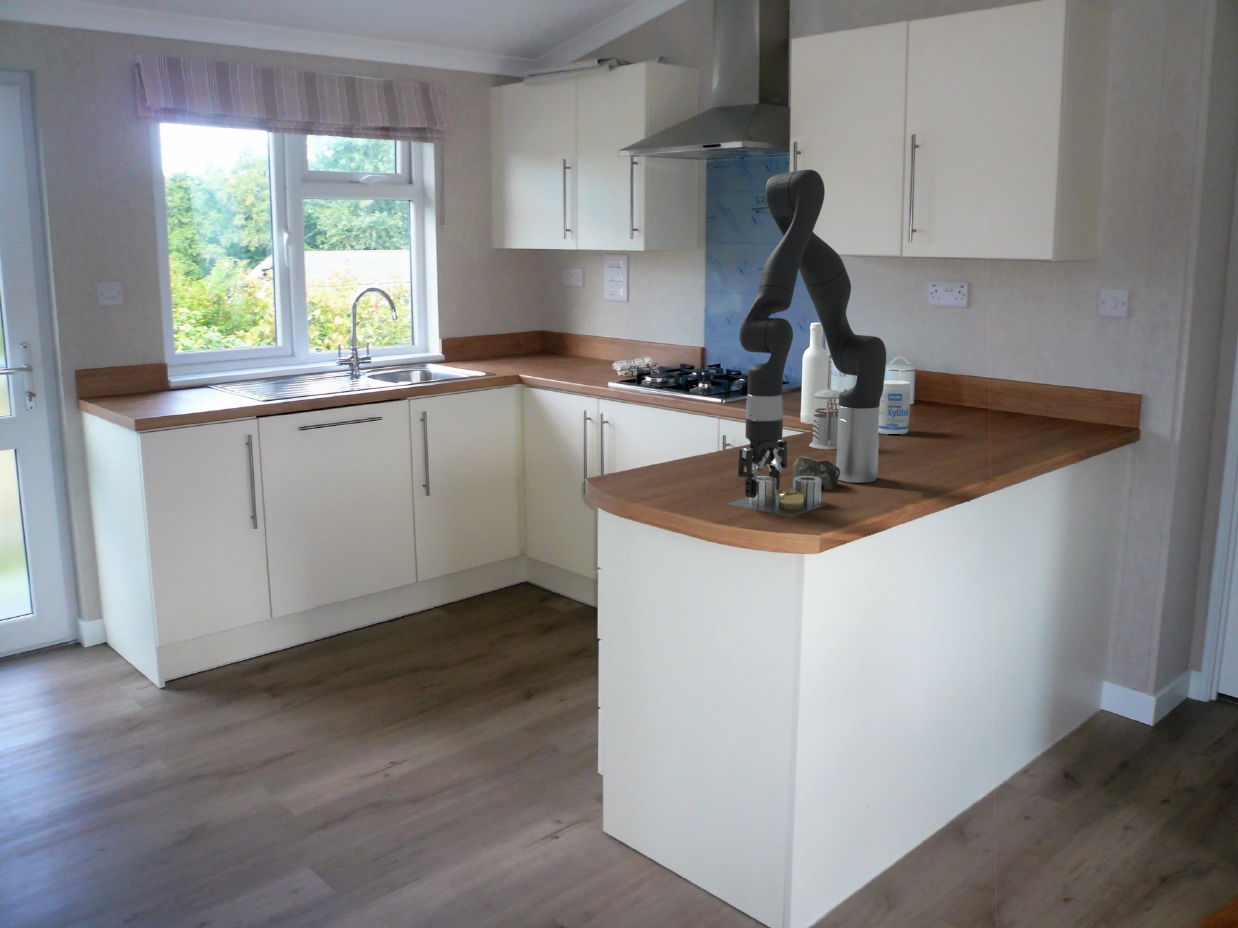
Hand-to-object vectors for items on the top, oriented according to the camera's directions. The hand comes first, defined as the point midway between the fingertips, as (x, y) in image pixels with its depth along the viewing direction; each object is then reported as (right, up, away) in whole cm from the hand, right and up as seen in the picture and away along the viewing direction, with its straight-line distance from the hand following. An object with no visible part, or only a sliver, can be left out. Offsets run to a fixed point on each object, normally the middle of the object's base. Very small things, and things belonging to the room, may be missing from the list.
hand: (762, 493), depth 223 cm
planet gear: (0, -2, +1) cm, 2 cm away
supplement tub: (+49, +15, +87) cm, 100 cm away
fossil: (+14, 0, +17) cm, 21 cm away
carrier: (+3, -3, -1) cm, 4 cm away
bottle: (+29, +19, +104) cm, 110 cm away
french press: (+26, +11, +67) cm, 73 cm away
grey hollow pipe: (+9, -2, 0) cm, 9 cm away
